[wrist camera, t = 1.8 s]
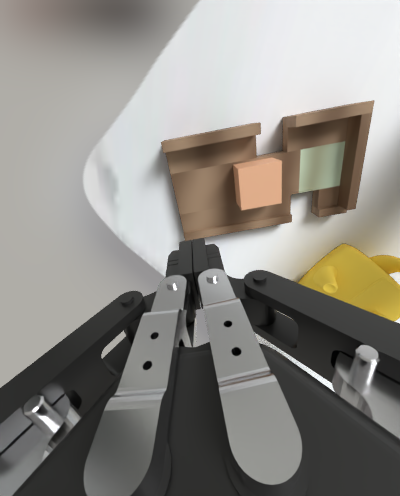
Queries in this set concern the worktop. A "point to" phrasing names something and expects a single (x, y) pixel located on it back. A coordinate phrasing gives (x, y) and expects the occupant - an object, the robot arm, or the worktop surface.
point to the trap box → (244, 150)
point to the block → (258, 183)
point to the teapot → (358, 280)
